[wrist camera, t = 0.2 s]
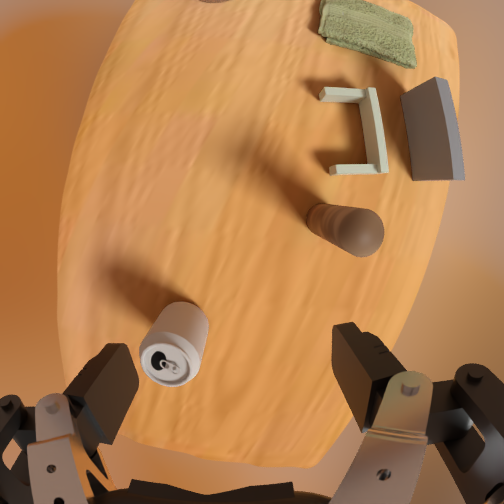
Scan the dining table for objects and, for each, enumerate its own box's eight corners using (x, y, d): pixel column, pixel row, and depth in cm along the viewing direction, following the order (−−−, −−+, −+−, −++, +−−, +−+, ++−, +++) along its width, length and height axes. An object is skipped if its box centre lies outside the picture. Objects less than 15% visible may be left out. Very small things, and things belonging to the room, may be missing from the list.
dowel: (305, 204, 37) (339, 210, 23) (335, 202, 37) (383, 207, 23) (307, 237, 38) (342, 259, 24) (337, 234, 38) (384, 254, 24)
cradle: (318, 94, 33) (326, 84, 29) (364, 96, 33) (375, 88, 29) (329, 175, 36) (339, 173, 32) (375, 174, 36) (388, 172, 32)
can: (167, 291, 38) (140, 328, 27) (216, 309, 39) (206, 353, 27) (156, 333, 40) (130, 377, 28) (201, 350, 41) (189, 399, 29)
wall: (399, 95, 33) (435, 76, 24) (411, 97, 33) (447, 80, 24) (412, 180, 36) (453, 179, 26) (423, 180, 36) (465, 180, 26)
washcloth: (318, -7, 30) (322, -18, 26) (407, 25, 31) (415, 18, 27) (314, 42, 32) (319, 32, 29) (412, 77, 33) (421, 71, 30)
